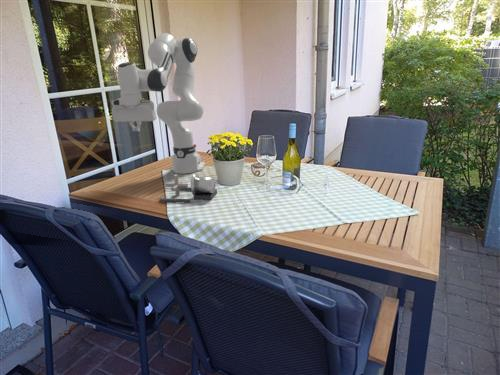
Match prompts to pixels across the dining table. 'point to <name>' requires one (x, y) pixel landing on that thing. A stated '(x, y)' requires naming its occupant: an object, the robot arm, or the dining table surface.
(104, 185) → the dining table surface
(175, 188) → the pipe connector
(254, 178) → the dining table surface
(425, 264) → the dining table surface
